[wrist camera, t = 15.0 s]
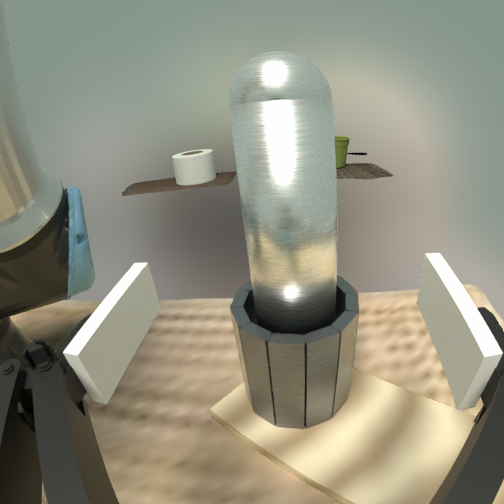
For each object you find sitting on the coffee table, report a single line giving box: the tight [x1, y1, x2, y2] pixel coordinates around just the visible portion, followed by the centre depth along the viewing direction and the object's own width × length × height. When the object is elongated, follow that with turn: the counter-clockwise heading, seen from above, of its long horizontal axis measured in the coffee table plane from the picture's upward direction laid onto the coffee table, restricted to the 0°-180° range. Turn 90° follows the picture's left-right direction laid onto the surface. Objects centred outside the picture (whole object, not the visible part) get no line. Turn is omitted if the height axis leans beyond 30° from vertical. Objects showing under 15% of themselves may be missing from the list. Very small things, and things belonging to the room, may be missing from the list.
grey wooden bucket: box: [230, 276, 359, 429], centre depth 28 cm, size 10×10×11 cm
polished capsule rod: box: [229, 51, 337, 335], centre depth 23 cm, size 9×6×21 cm
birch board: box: [210, 367, 504, 504], centre depth 24 cm, size 30×13×2 cm, turn 47°
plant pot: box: [334, 136, 350, 168], centre depth 116 cm, size 12×12×11 cm
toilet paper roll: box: [172, 149, 217, 185], centre depth 119 cm, size 16×15×11 cm
